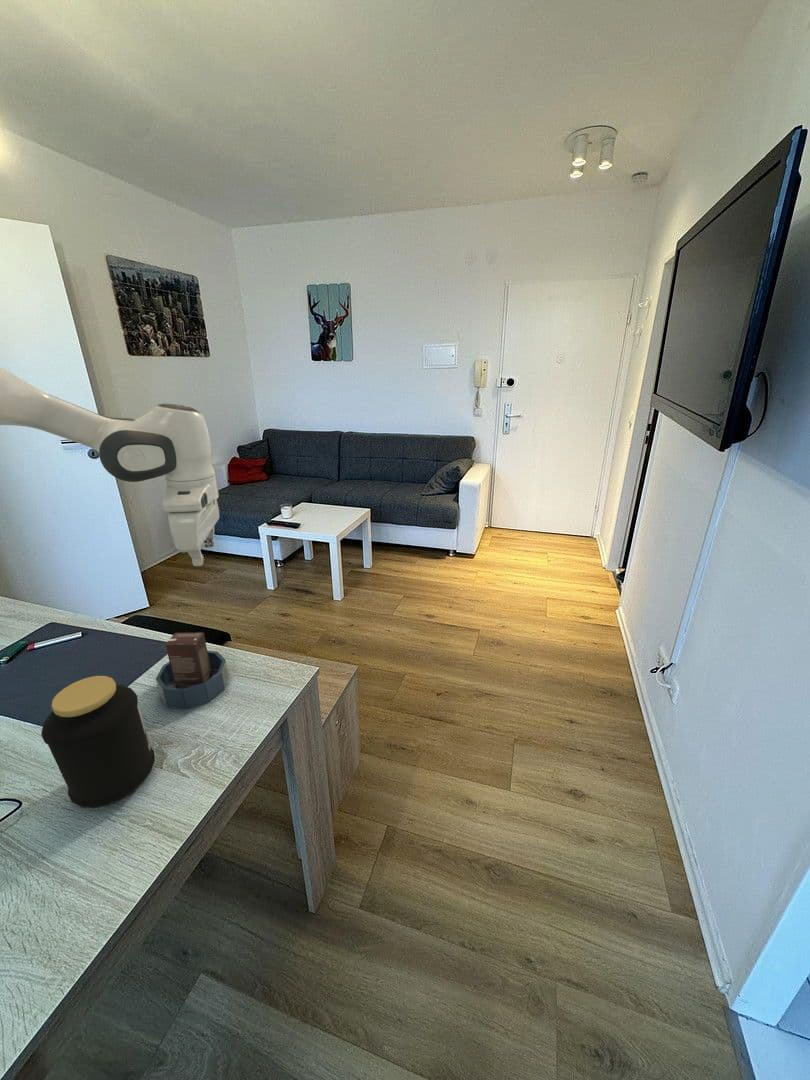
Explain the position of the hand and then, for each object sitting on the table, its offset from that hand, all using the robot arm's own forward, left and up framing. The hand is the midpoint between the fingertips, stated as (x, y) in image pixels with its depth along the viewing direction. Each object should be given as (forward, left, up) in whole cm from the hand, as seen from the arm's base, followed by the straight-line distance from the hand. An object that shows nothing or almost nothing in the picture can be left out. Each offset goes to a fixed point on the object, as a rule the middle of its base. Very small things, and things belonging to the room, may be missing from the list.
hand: (204, 554), depth 90 cm
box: (-3, -10, -26) cm, 28 cm away
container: (-10, -31, -26) cm, 41 cm away
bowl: (-3, -10, -25) cm, 27 cm away
